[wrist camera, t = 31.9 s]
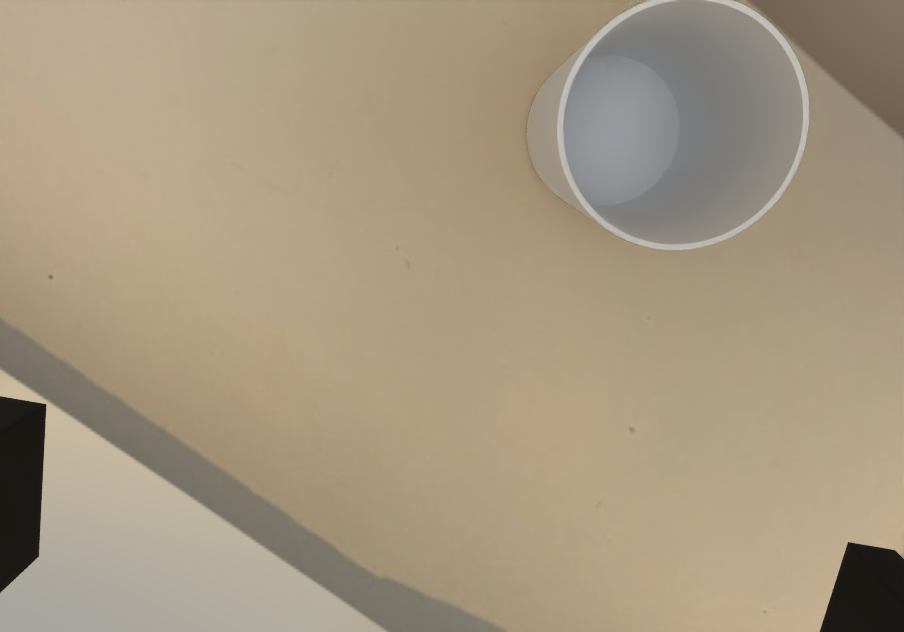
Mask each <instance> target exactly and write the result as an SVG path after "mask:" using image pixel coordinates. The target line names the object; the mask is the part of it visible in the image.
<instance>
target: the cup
mask: <svg viewBox="0 0 904 632" xmlns="http://www.w3.org/2000/svg"><path fill="white" fill-rule="evenodd" d="M808 128H809V99H808V92H807V87H806V83H805V78H804V75H803V72H802V70H801V67H800V64H799V62H798V60H797V58H796V56H795V54H794V52H793V50H792V49H791V47H790V46H789V44H788V42H787V41H786V40H785V39H784V37H783V36H782V35H781V33H780V32H779V31H778V30H777V29H776V28H775V27H774V26H773V25H772V24H771V23H770V22H768V21H767V20H766V19H765V18H764V17H762V16H761V15H759V14H758V13H756V12H755V11H754V10H752V9H750V8H748V7H746V6H744V5H742V4H740V3H738V2H735V1H733V0H649V1H646V2H643V3H641V4H638V5H636V6H634V7H632V8H630V9H628V10H626V11H624V12H623V13H621V14H619V15H618V16H616V17H615V18H613V19H612V20H611V21H609V22H608V23H607V24H605V25H604V26H603V27H602V28H601V29H600V30H599V31H598V32H596V33H595V34H594V35H593V36H592V37H591V38H590V39H589V40H588V41H587V42H585V43H584V44H583V45H582V46H581V47H580V48H579V49H578V50H577V51H576V52H575V53H574V54H573V55H572V56H570V57H569V58H568V59H567V60H566V61H565V62H564V63H563V64H562V65H561V66H560V67H559V68H558V69H556V70H555V71H554V72H553V73H552V74H551V75H550V76H549V77H548V79H547V80H546V81H545V82H544V83H543V85H542V86H541V88H540V89H539V91H538V93H537V94H536V96H535V99H534V101H533V103H532V106H531V109H530V112H529V116H528V122H527V146H528V151H529V155H530V158H531V161H532V164H533V166H534V168H535V170H536V172H537V174H538V176H539V177H540V179H541V180H542V181H543V183H544V184H545V185H546V186H547V187H548V188H549V189H550V190H551V191H552V192H553V193H554V194H556V195H557V196H558V197H560V198H561V199H562V200H564V201H565V202H567V203H568V204H570V205H571V206H572V207H574V208H575V209H577V210H578V211H580V212H581V213H582V214H584V215H585V216H587V217H588V218H590V219H591V220H592V221H594V222H595V223H597V224H598V225H600V226H601V227H603V228H604V229H606V230H607V231H609V232H610V233H612V234H614V235H615V236H617V237H619V238H621V239H624V240H626V241H628V242H631V243H634V244H637V245H641V246H644V247H649V248H655V249H663V250H687V249H694V248H700V247H704V246H708V245H712V244H715V243H718V242H721V241H723V240H725V239H727V238H730V237H732V236H734V235H736V234H737V233H739V232H741V231H743V230H744V229H746V228H747V227H749V226H750V225H752V224H753V223H754V222H756V221H757V220H758V219H759V218H761V217H762V216H763V215H764V214H765V213H766V212H767V211H768V210H769V209H770V208H771V207H772V206H773V205H774V204H775V202H776V201H777V200H778V199H779V198H780V197H781V195H782V194H783V192H784V191H785V189H786V188H787V187H788V185H789V183H790V181H791V180H792V178H793V176H794V174H795V172H796V170H797V168H798V166H799V163H800V160H801V158H802V155H803V152H804V148H805V144H806V140H807V134H808Z"/></svg>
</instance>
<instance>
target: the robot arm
mask: <svg viewBox="0 0 904 632" xmlns="http://www.w3.org/2000/svg"><path fill="white" fill-rule="evenodd" d="M45 417H46V404H41V403H36V402H29V401H24V400H18V399H12V398H6V397H0V592H1V591H2V590H4V589H5V588H6V587H7V586H8V585H9V584H10V583H11V582H12V581H13V580H14V579H15V578H16V577H17V576H18V575H19V574H20V573H22V572H23V571H24V570H25V569H26V568H27V567H28V566H29V565H30V564H31V563H32V562H33V561H34V560H35V559H36V558H38V557H39V540H40V520H41V500H42V480H43V459H44V439H45ZM820 632H904V559H903V558H902V557H901V556H900V555H899V554H898V553H897V552H896V551H895V550H890V549H885V548H879V547H873V546H867V545H861V544H855V543H850V542H848V544H847V548H846V551H845V554H844V557H843V560H842V563H841V567H840V570H839V573H838V576H837V579H836V582H835V585H834V589H833V592H832V595H831V598H830V601H829V604H828V608H827V611H826V614H825V617H824V620H823V623H822V627H821V630H820Z"/></svg>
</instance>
